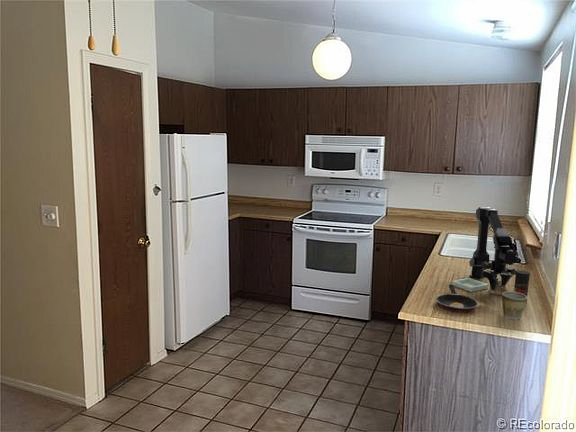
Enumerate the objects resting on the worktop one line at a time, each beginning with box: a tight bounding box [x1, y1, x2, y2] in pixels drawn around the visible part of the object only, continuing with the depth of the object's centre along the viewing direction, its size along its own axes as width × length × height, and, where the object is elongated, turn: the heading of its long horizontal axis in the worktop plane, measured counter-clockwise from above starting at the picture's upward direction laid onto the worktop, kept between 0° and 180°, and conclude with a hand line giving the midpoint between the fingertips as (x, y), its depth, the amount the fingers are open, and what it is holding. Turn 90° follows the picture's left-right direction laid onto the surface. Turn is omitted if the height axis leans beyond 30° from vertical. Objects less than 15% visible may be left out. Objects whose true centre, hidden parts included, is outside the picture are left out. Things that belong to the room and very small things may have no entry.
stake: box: [488, 280, 502, 296], centre depth 239 cm, size 8×8×6 cm
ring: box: [489, 285, 509, 295], centre depth 238 cm, size 7×9×3 cm
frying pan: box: [435, 283, 480, 313], centre depth 225 cm, size 19×32×4 cm, turn 168°
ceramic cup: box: [501, 290, 528, 321], centre depth 208 cm, size 13×10×10 cm
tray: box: [451, 277, 489, 293], centre depth 246 cm, size 12×12×3 cm
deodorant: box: [513, 269, 531, 304], centre depth 225 cm, size 6×6×15 cm
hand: (497, 289), depth 239 cm, fingers closed on ring, 7 cm apart
